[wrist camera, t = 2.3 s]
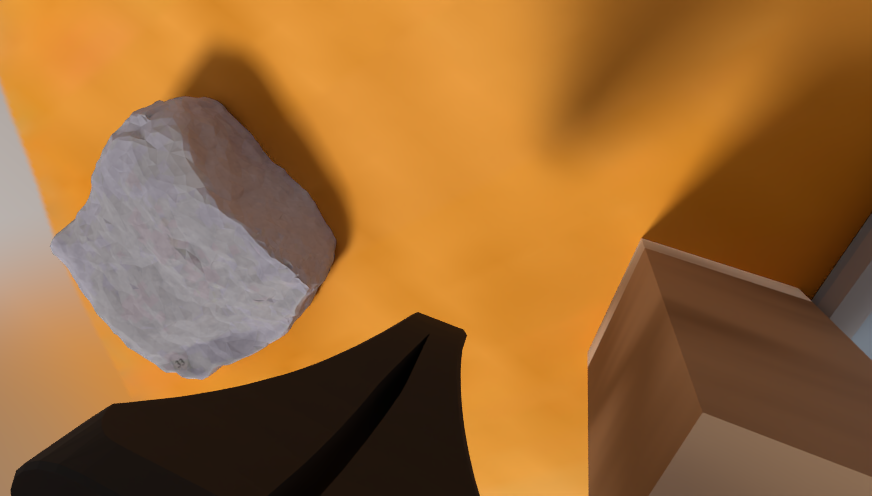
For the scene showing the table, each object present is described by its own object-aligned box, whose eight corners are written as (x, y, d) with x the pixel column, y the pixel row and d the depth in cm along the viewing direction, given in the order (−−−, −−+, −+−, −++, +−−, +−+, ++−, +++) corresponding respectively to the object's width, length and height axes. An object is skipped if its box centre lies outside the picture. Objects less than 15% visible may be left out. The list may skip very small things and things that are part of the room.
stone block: (379, 235, 21) (202, 67, 18) (340, 297, 17) (106, 90, 14) (250, 345, 26) (102, 228, 24) (198, 411, 22) (13, 278, 20)
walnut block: (721, 402, 16) (852, 711, 8) (587, 352, 17) (589, 586, 9) (797, 288, 14) (1067, 552, 6) (641, 238, 15) (702, 412, 7)
